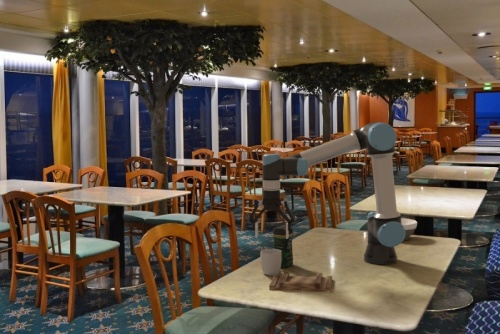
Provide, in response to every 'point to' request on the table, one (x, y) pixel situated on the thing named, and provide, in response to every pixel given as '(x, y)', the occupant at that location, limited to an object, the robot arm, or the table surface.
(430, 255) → the table surface
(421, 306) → the table surface
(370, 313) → the table surface
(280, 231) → the coffee jar
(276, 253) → the mug
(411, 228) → the bowl
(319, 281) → the rack
